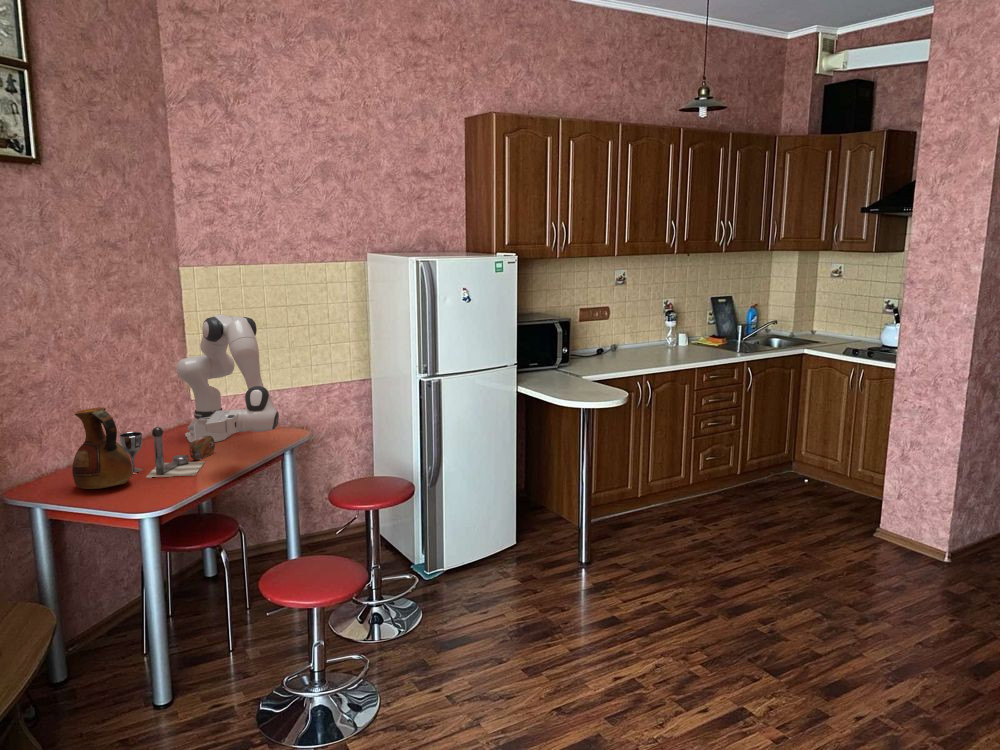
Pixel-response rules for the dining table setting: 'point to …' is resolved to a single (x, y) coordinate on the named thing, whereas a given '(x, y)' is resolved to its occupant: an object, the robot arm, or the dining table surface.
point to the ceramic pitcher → (100, 453)
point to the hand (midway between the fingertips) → (198, 421)
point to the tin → (202, 447)
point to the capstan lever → (159, 457)
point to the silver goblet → (131, 445)
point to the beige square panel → (179, 470)
